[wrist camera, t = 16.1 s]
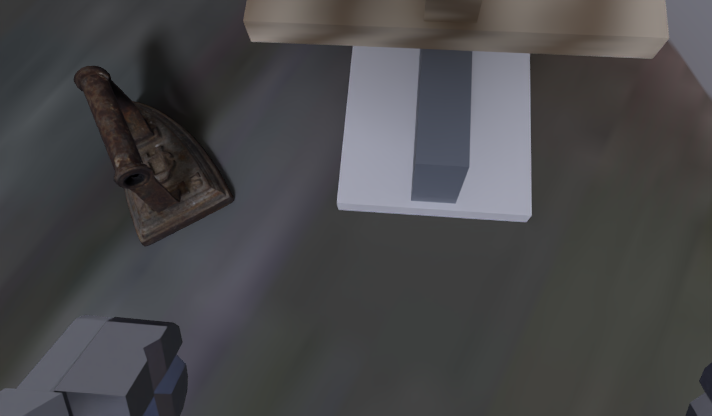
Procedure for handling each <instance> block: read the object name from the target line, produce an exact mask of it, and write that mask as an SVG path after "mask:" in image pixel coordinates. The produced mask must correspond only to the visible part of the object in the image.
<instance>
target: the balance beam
mask: <svg viewBox="0 0 712 416" xmlns="http://www.w3.org/2000/svg"><path fill="white" fill-rule="evenodd" d="M243 22H244V24H245V27H246V29H247V32H248V35H249V37H250V40H251V42H274V43H297V44H321V45H344V46H368V47H391V48H414V49H438V50H461V51H485V52H508V53H532V54H555V55H578V56H602V57H625V58H649V59H653V58H654V56H655V55H656V54H657V53H658V51H659V50H660V49H661V48H662V46H663V45H664V44H665V43H666V41H667V40H668V39H669V31H668V22H667V11H666V2H665V0H247V3H246V8H245V14H244V20H243Z"/></svg>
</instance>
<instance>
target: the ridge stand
mask: <svg viewBox="0 0 712 416" xmlns="http://www.w3.org/2000/svg"><path fill="white" fill-rule="evenodd" d="M337 206H338V209H339V210H350V211H365V212H380V213H395V214H410V215H425V216H440V217H455V218H471V219H486V220H501V221H516V222H527V221H528V219H529V218H530V217H531V216H532V206H531V117H530V53H508V52H485V51H461V50H438V49H414V48H391V47H368V46H353V49H352V59H351V69H350V79H349V88H348V98H347V108H346V118H345V128H344V137H343V147H342V157H341V167H340V176H339V186H338V196H337Z"/></svg>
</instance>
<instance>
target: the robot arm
mask: <svg viewBox="0 0 712 416" xmlns="http://www.w3.org/2000/svg"><path fill="white" fill-rule="evenodd" d="M181 344H182V338H181V333H180V328H179V326H178V325H176V324H175V323H172V322H162V321H151V320H141V319H131V318H120V317H114V318H112V317H104V316H93V315H83V316H81V317H78V318H76V319H75V320H74V321H73V322H72V323H71V325H70V326H69V327H68V328H67V329H66V331H65V332H64V333H63V334H62V335H61V336H60V338H59V339H58V340H57V341H56V342H55V343H54V345H53V346H52V347H51V348H50V349H49V351H48V352H47V353H46V354H45V355H44V356H43V358H42V359H41V360H40V361H39V362H38V363H37V365H36V366H35V367H34V368H33V369H32V371H31V372H30V373H29V374H28V375H27V376H26V378H25V379H24V380H23V381H22V382H21V383H20V385H19V386H18V387H17V388H16V389H9V388H5V389H4V390H2V391H0V416H180V414H181V412H182V410H183V407H184V402H185V398H186V394H187V386H188V374H187V367H186V363H185V362H184V361H183V360H182V359H181V358H180V357H179V356H178V355H177V352H178V350H179V348H180V346H181ZM699 382H700V384H701V386H702V388H703V389H704V391H705V393H704V394H702V395H701V396H699V397H698V398H696V399H695V400H694V401H692V402H691V403H690V404H689V407H688V410H687V413H686V416H712V363H710V364H709V365H708V366H707V367H706V368H705V369H704V371H703V373H702V376H701V378H700V380H699Z"/></svg>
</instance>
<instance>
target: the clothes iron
mask: <svg viewBox="0 0 712 416" xmlns="http://www.w3.org/2000/svg"><path fill="white" fill-rule="evenodd" d="M74 82H75V84H76V86H77V87H78V88H79V89H80V90H81V91H83V92H84V94H85V96H86V99H87V102H88V104H89V106H90V109H91V112H92V114H93V117H94V119H95V122H96V124H97V127H98V129H99V132H100V135H101V137H102V140H103V142H104V144H105V147H106V150H107V152H108V155H109V157H110V160H111V162H112V165H113V167H114V170H115V176H114V181H115V182H116V184H118V185H119V186H120V187H122V188H124V190H125V195H126V199H127V203H128V207H129V210H130V214H131V217H132V220H133V223H134V226H135V229H136V232H137V235H138V237H139V239H140V242H141V243H142V245H144V246H149V245H151V244H153V243H155V242H157V241H159V240H161V239H163V238H165V237H167V236H169V235H171V234H173V233H175V232H176V231H178V230H180V229H182V228H184V227H186V226H188V225H190V224H192V223H194V222H196V221H198V220H200V219H202V218H204V217H206V216H207V215H209V214H211V213H213V212H215V211H217V210H219V209H221V208H223V207H225V206H227V205H228V204H230V203H232V202H233V201H234V198H233V196H232V194H231V192H230V190H229V188H228V186H227V184H226V182H225V180H224V179H223V177H222V175H221V174H220V172H219V170H218V168H217V167H216V165H215V164H214V163H213V161H212V159H211V158H210V157H209V155H208V154H207V153H206V151H205V150H204V149H203V147H202V146H201V145H200V144H199V143H198V142H197V140H196V139H195V138H194V137H193V136H192V135H191V134H190V133H189V132H187V131H186V130H185V129H184V128H183V127H182V126H180V125H179V124H178V123H177V122H175V121H174V120H173V119H171V118H170V117H168V116H167V115H165V114H164V113H162V112H161V111H159V110H157V109H155V108H153V107H150V106H148V105H145V104H142V103H139V102H134V101H131V100H130V99H129V98H128V97H127V96H126V95H125V94H124V92H123V91H122V90H121V89H120V88H119V87H118V86H117V85H116V84H115V83H114V82H113V81H112V80H111V77H110V74H109V73H108V72H107V71H106V70H104V69H103V68H101V67H98V66H86V67H83V68H81V69H80V70H79V71H77V73H76V74H75V76H74Z"/></svg>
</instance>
